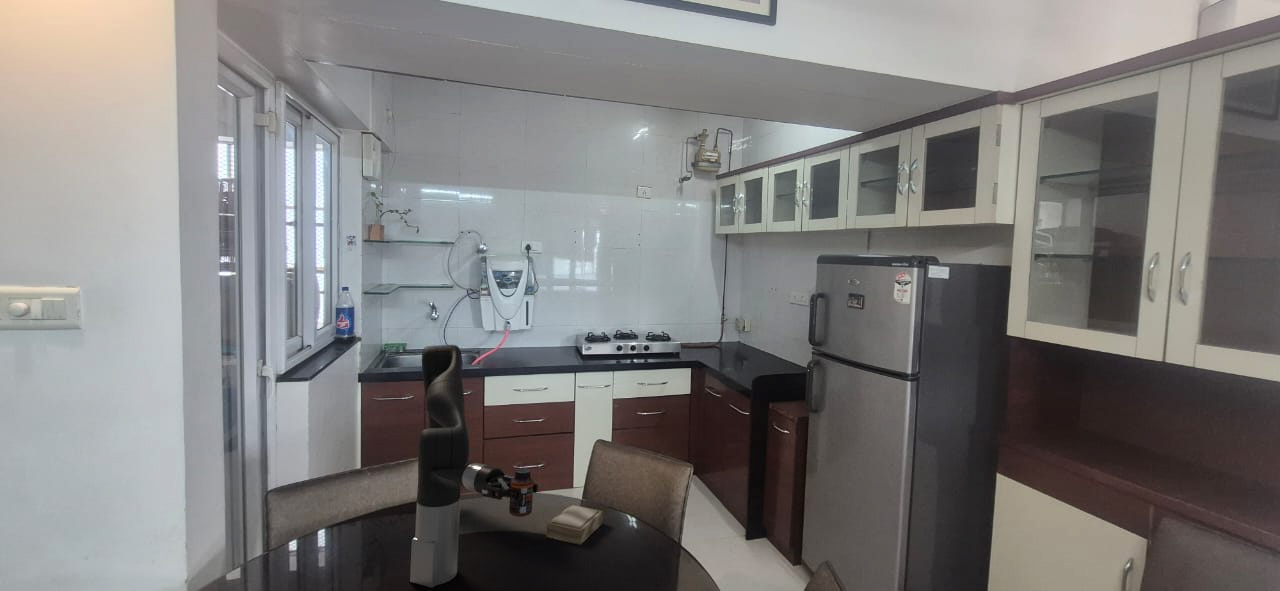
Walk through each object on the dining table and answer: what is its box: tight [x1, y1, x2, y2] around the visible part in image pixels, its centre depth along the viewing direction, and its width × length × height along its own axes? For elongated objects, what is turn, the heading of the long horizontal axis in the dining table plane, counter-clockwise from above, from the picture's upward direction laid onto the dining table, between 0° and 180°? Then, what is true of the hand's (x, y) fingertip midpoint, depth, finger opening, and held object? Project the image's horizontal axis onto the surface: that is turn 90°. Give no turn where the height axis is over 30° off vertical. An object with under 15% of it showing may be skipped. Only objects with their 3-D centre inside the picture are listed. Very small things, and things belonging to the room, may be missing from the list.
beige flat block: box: [546, 504, 604, 546], centre depth 146 cm, size 14×10×4 cm
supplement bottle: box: [508, 467, 534, 518], centre depth 141 cm, size 6×6×11 cm
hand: (528, 492), depth 140 cm, fingers closed on supplement bottle, 6 cm apart
